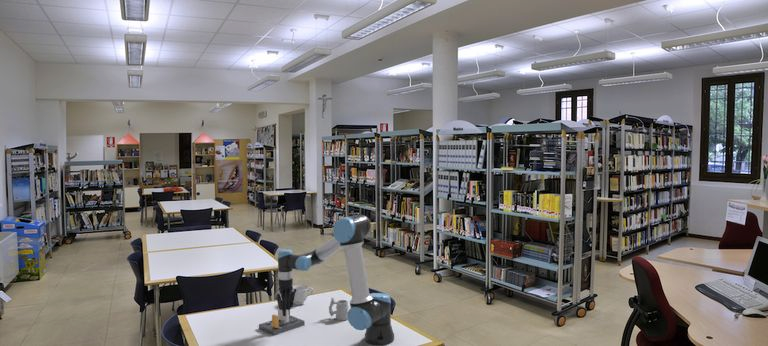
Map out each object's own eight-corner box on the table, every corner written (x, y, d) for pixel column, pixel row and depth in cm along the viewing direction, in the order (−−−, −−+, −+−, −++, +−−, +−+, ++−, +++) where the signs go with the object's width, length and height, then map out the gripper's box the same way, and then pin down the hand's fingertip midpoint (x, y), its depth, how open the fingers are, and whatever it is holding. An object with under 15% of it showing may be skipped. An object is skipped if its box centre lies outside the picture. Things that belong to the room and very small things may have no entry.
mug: (347, 321, 265) (347, 300, 265) (327, 320, 267) (327, 299, 266) (350, 316, 273) (350, 296, 272) (330, 315, 274) (330, 295, 274)
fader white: (284, 319, 260) (284, 308, 260) (281, 320, 259) (281, 309, 258) (280, 318, 263) (280, 307, 262) (277, 319, 261) (277, 308, 261)
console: (304, 325, 259) (304, 320, 259) (273, 335, 245) (273, 330, 245) (289, 319, 269) (289, 314, 269) (258, 329, 254) (258, 324, 254)
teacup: (313, 305, 292) (313, 289, 292) (289, 307, 290) (288, 291, 290) (313, 299, 304) (313, 284, 304) (290, 300, 302) (290, 285, 302)
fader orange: (278, 327, 249) (278, 315, 249) (275, 328, 248) (275, 316, 248) (274, 325, 252) (274, 314, 251) (272, 326, 250) (271, 314, 250)
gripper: (291, 274, 261) (292, 316, 262) (271, 279, 251) (272, 323, 252) (299, 277, 256) (300, 319, 257) (279, 282, 246) (280, 326, 247)
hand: (286, 321), depth 254 cm, fingers closed
